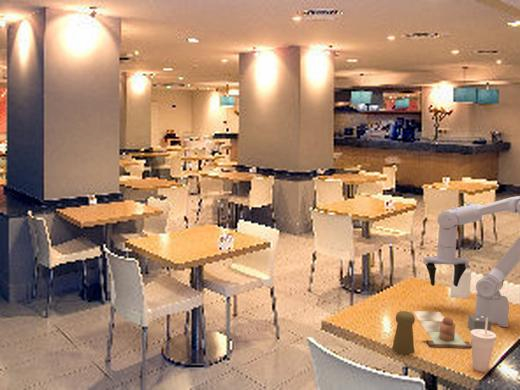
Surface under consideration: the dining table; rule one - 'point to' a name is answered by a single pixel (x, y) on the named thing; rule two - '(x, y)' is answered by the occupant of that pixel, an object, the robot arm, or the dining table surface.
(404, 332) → the olive brown pawn
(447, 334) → the pawn
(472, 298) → the dining table surface
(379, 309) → the dining table surface
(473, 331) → the smoothie
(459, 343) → the game board
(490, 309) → the robot arm
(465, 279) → the can
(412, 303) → the dining table surface
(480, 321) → the die
